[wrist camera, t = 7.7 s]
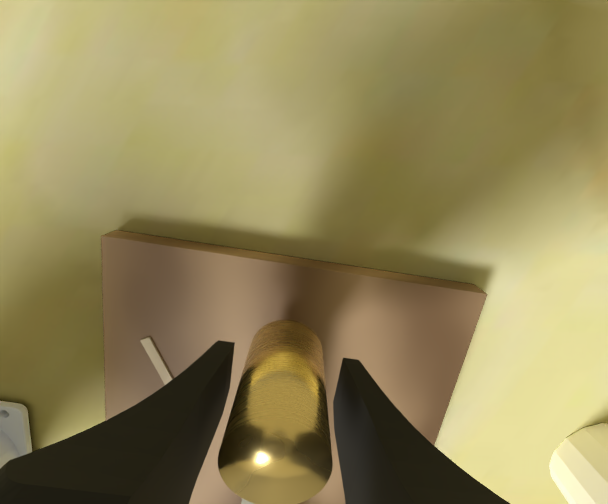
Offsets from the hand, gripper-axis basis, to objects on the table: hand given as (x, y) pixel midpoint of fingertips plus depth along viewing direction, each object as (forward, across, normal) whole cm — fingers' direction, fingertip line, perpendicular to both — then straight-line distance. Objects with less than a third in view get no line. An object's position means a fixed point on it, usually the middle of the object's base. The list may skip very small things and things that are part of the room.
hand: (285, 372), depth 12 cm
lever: (+3, 0, +8) cm, 8 cm away
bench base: (+5, 0, +8) cm, 9 cm away
